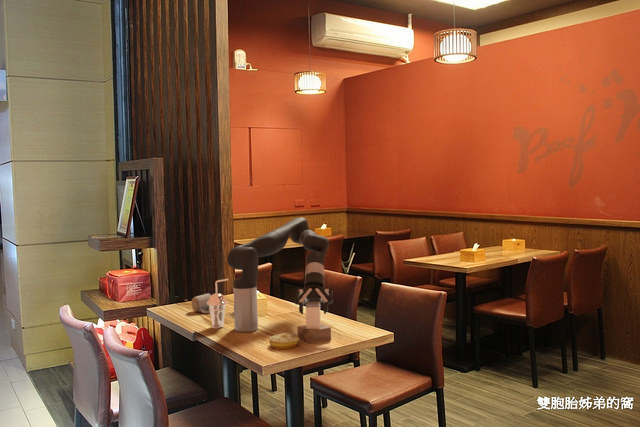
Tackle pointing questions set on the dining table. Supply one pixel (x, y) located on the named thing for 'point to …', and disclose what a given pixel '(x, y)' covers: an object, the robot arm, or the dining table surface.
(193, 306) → the ceramic mug
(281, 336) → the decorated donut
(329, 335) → the walnut block
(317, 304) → the canister
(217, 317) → the cup with straw
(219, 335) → the dining table surface
